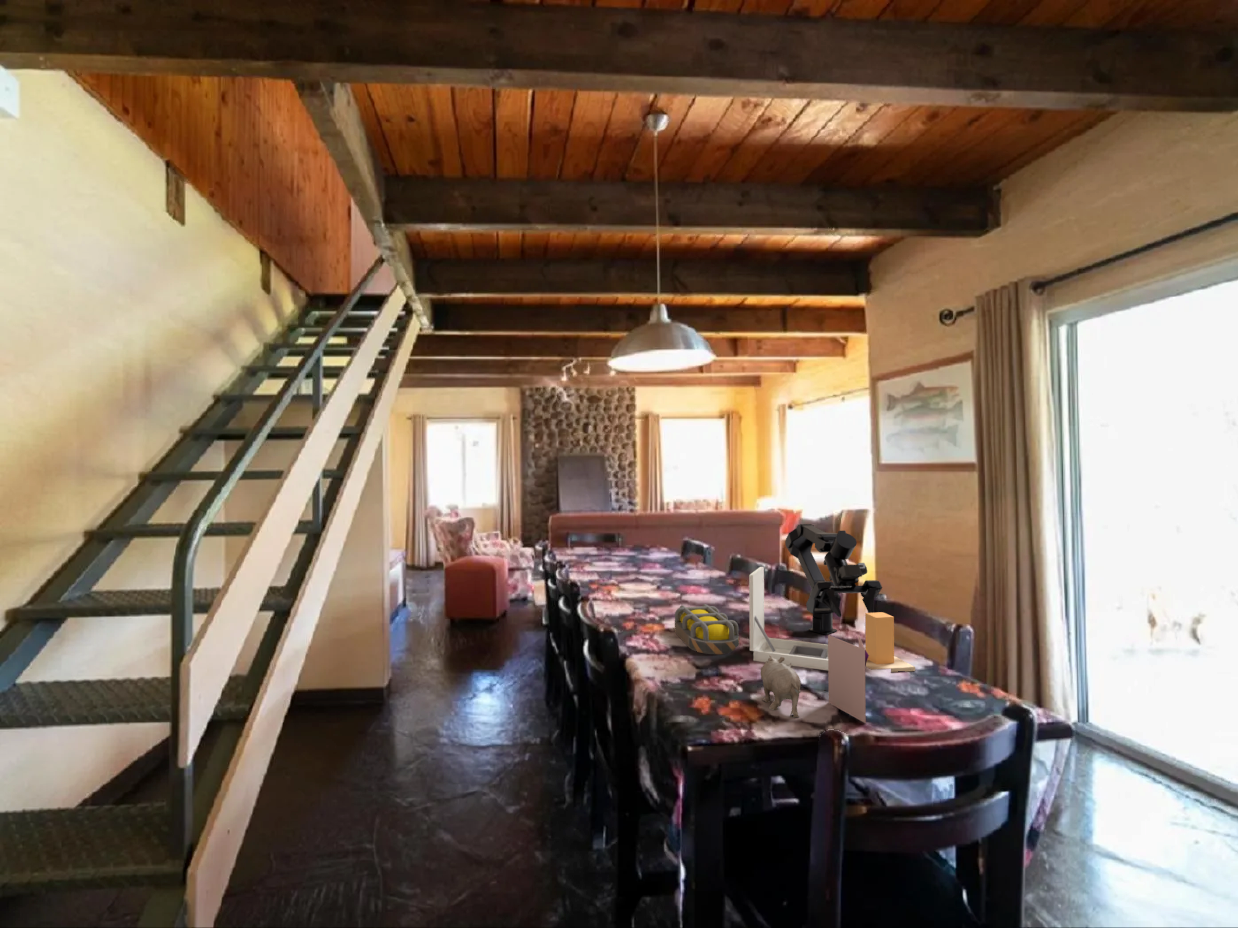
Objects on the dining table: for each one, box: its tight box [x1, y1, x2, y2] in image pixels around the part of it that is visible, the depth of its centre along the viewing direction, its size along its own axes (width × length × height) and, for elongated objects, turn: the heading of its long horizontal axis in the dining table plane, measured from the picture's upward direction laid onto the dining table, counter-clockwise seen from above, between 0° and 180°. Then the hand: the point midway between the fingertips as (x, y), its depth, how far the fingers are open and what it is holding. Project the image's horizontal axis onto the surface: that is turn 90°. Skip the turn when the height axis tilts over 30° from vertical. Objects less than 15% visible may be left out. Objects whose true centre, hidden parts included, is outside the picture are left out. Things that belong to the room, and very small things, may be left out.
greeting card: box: [827, 634, 869, 724], centre depth 129 cm, size 11×7×15 cm, turn 164°
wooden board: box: [865, 655, 916, 673], centre depth 159 cm, size 12×12×1 cm
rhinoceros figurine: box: [760, 655, 802, 719], centre depth 133 cm, size 8×14×15 cm
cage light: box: [674, 603, 740, 655], centre depth 183 cm, size 15×8×30 cm
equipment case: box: [748, 566, 828, 671], centre depth 162 cm, size 14×21×24 cm, turn 65°
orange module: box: [864, 611, 895, 664], centre depth 159 cm, size 5×5×12 cm
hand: (856, 615), depth 167 cm, fingers open, 9 cm apart
